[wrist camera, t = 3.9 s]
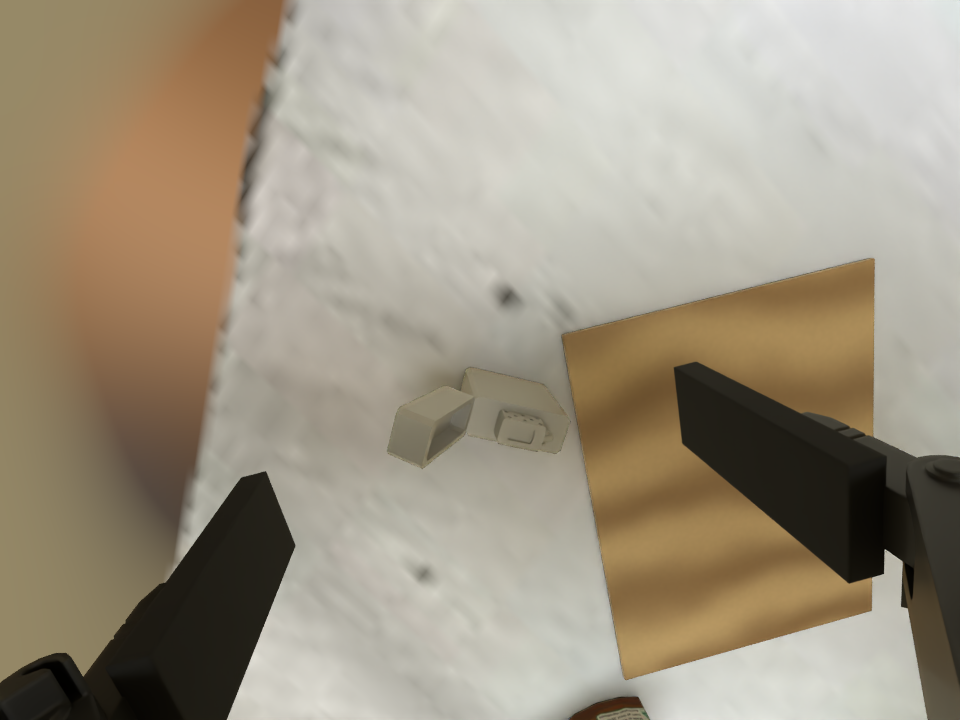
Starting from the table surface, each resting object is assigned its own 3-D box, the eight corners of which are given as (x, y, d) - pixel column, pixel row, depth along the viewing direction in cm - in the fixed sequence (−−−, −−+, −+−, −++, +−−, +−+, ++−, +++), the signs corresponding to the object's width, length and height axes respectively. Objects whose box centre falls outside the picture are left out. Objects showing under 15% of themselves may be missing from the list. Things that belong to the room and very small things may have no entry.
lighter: (547, 385, 24) (603, 458, 16) (536, 416, 24) (587, 503, 17) (406, 351, 23) (396, 414, 15) (397, 385, 23) (384, 463, 16)
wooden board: (867, 607, 30) (872, 611, 30) (623, 676, 30) (625, 680, 29) (869, 257, 24) (875, 258, 24) (561, 334, 23) (562, 335, 23)
